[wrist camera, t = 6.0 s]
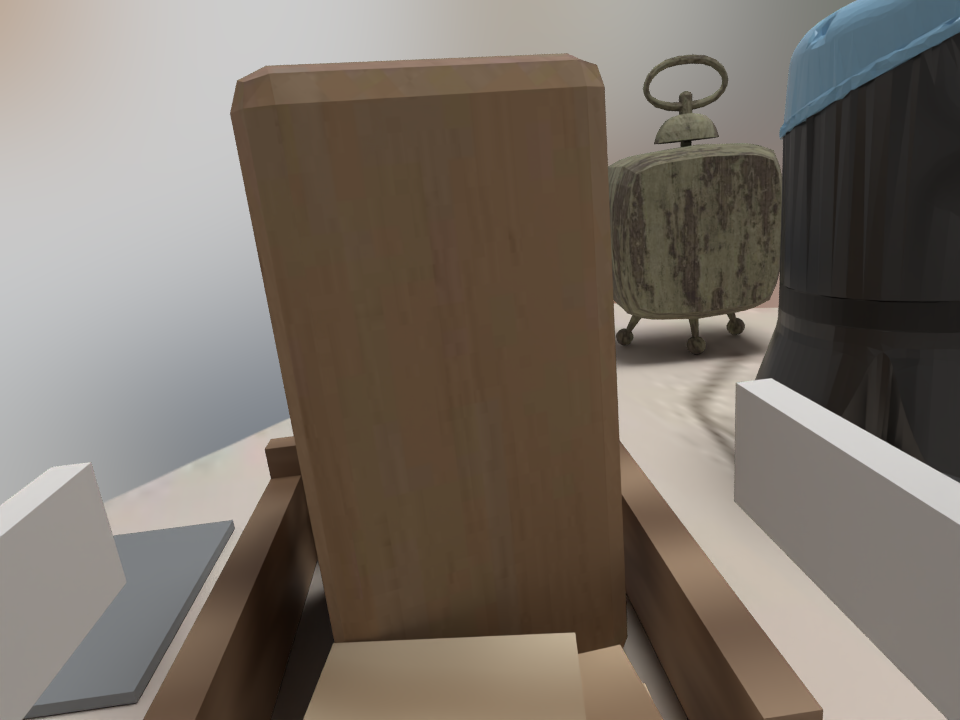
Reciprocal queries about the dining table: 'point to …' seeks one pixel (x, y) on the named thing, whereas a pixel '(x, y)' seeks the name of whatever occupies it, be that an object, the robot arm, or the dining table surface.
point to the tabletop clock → (694, 221)
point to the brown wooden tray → (478, 660)
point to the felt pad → (136, 618)
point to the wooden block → (446, 338)
